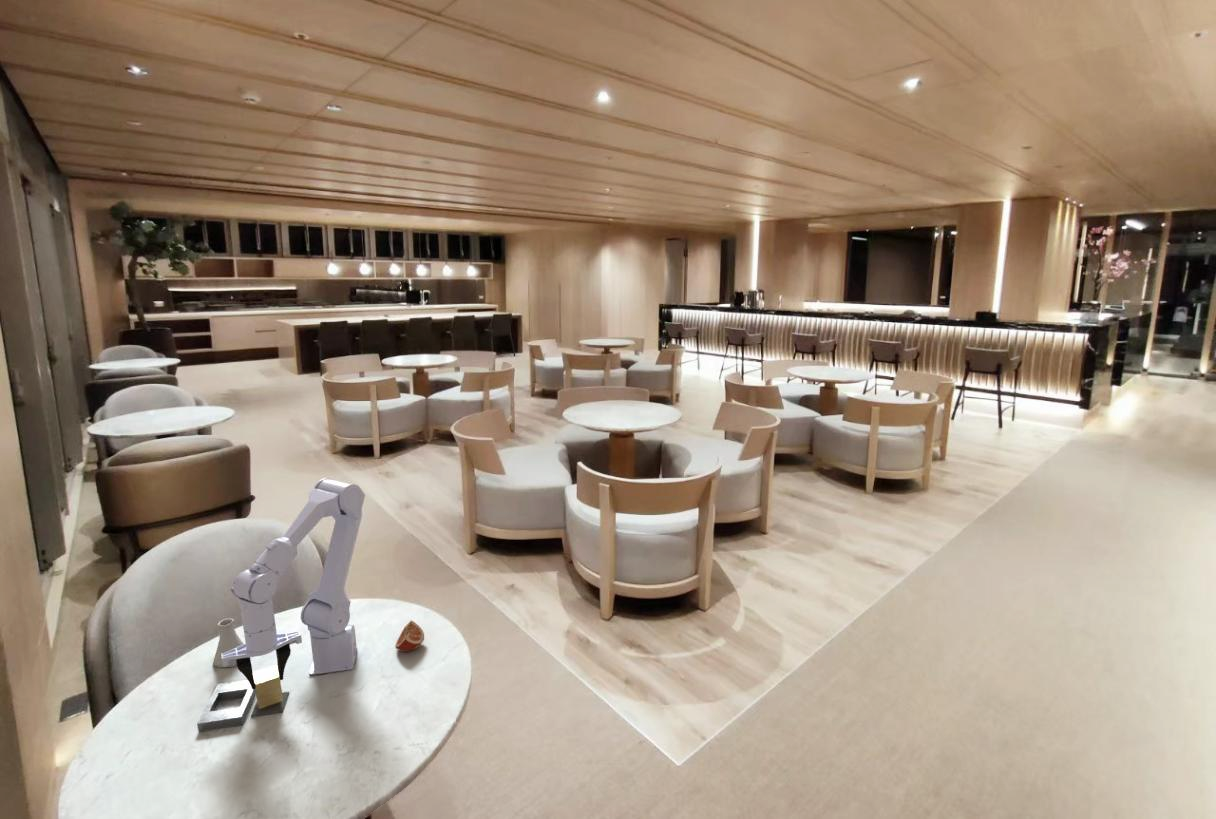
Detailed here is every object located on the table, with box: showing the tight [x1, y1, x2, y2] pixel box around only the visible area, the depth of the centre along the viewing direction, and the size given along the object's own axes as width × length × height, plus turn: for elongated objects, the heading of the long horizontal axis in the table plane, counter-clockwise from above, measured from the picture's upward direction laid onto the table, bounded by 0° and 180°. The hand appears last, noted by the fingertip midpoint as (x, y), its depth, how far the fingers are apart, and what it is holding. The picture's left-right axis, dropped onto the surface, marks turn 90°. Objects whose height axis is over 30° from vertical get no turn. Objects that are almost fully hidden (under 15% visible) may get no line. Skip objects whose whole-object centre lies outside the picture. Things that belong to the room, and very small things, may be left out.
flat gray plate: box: [250, 691, 290, 718], centre depth 131 cm, size 6×6×1 cm
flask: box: [212, 618, 244, 669], centre depth 144 cm, size 7×7×10 cm
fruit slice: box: [395, 620, 425, 652], centre depth 150 cm, size 8×7×5 cm
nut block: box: [252, 664, 283, 709], centre depth 130 cm, size 4×4×6 cm
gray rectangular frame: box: [196, 679, 256, 733], centre depth 130 cm, size 8×12×2 cm, turn 15°
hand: (267, 682), depth 130 cm, fingers closed on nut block, 4 cm apart
